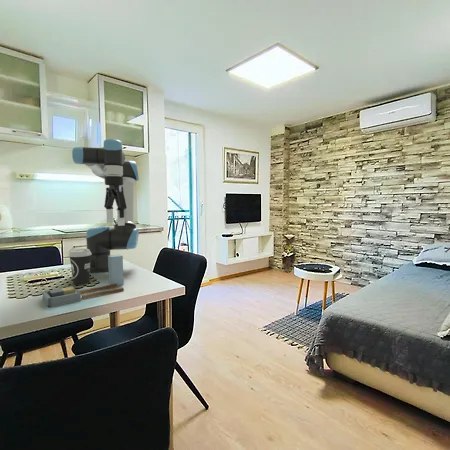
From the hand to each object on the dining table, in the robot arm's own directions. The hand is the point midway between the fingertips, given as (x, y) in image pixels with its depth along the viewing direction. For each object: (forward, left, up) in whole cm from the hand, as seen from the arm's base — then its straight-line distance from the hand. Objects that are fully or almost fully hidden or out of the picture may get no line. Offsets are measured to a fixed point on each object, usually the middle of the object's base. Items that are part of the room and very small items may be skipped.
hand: (115, 224), depth 130 cm
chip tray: (+8, -24, -27) cm, 37 cm away
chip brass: (+8, -22, -27) cm, 35 cm away
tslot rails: (+8, -10, -27) cm, 30 cm away
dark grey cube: (+8, -26, -27) cm, 38 cm away
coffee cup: (-12, -12, -27) cm, 32 cm away
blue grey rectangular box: (+1, -1, -27) cm, 27 cm away
